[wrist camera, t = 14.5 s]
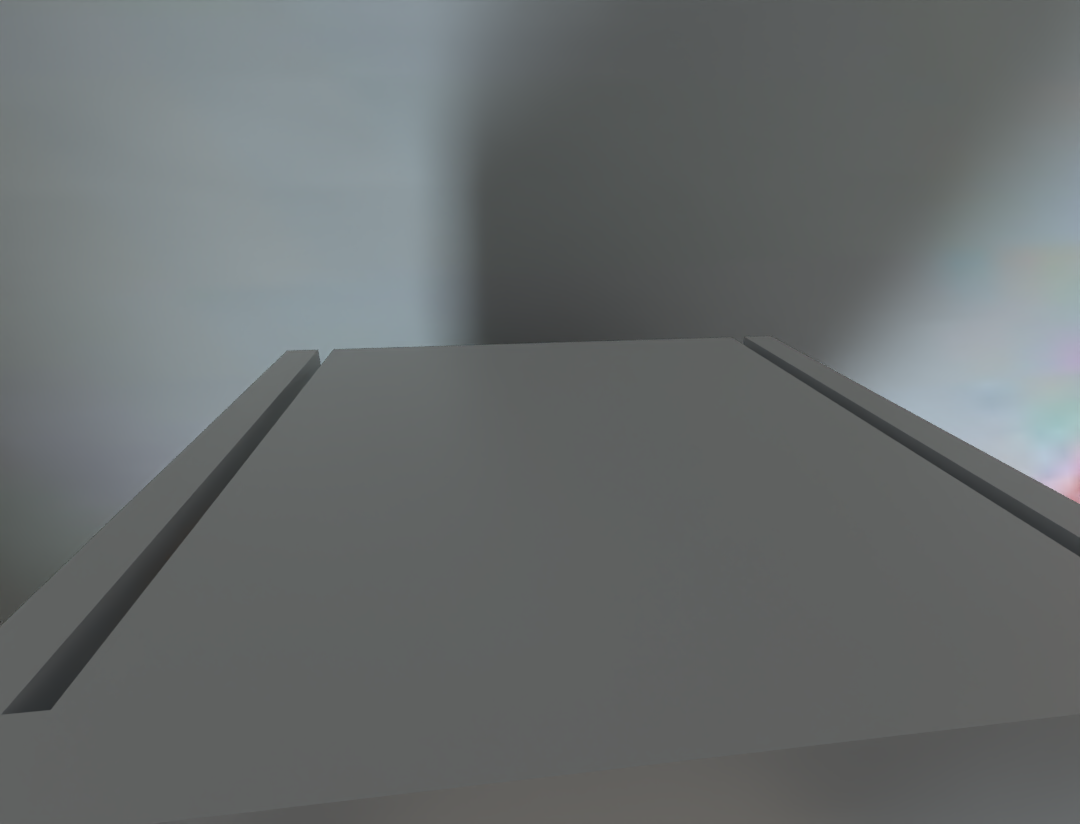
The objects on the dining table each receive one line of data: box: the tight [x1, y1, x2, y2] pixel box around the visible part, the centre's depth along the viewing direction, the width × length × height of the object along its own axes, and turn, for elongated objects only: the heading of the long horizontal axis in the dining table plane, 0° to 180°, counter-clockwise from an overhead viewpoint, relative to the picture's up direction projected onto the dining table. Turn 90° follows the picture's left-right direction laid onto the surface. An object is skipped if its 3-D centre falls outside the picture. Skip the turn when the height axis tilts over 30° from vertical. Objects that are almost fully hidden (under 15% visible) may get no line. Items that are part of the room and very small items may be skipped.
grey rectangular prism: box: [0, 336, 1080, 824], centre depth 9 cm, size 10×10×9 cm
